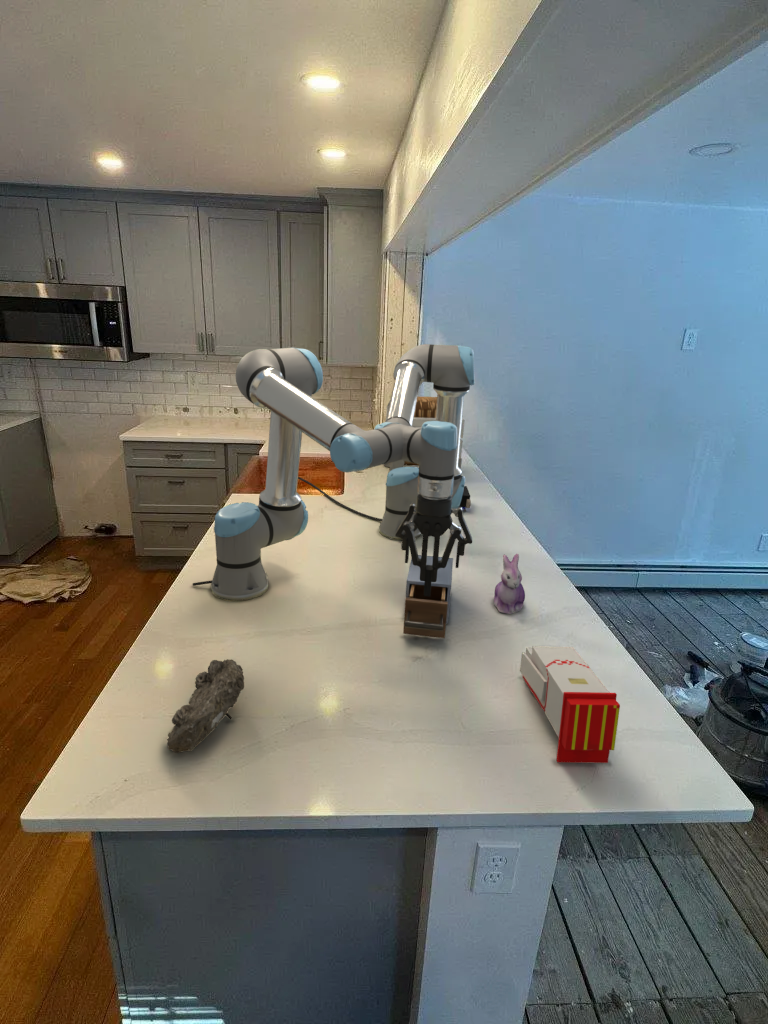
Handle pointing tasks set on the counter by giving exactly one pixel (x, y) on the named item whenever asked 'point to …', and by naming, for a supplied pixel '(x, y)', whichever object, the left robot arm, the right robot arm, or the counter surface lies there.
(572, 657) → the toy
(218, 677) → the fossil
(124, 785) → the counter surface
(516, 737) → the counter surface
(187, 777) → the counter surface
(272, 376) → the left robot arm
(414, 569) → the cabinet
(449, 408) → the right robot arm
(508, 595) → the figurine
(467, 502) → the figurine character
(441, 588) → the drawer
